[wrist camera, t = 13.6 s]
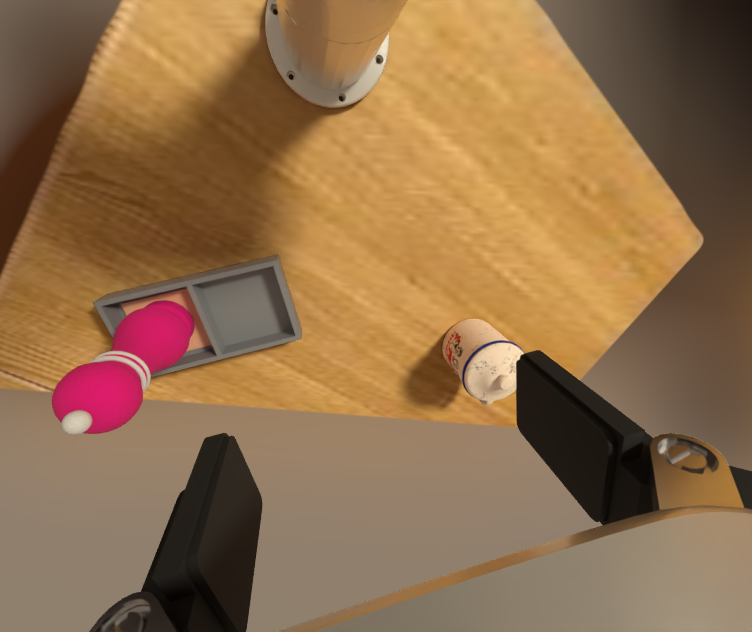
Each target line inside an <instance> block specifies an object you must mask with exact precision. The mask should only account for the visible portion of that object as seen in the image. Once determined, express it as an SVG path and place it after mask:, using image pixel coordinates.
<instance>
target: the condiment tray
mask: <svg viewBox="0 0 752 632" xmlns="http://www.w3.org/2000/svg"><path fill="white" fill-rule="evenodd" d="M160 300H168V301H173V302H176V303H178V304H180V305H182V306H183V307H185V308H186V309H187V310H188V311H189V312H190V314H191V315H192V317H193V320H194V325H195V328H194V332H193V335H192V336H191V338H190V342H189V346H188V349H187V351H186V353H185V354H184V355H183V356H182V357H181V359H180V360H179V361H177V362H176V363H175V364H173V365H172V366H170V367H168V368H166V369H163V370H160V371H156V372H154V373H152V374H151V377H154V376H158V375H162V374H166V373H170V372H174V371H178V370H182V369H185V368H189V367H193V366H197V365H201V364H205V363H209V362H213V361H217V360H221V359H225V358H229V357H233V356H236V355H240V354H244V353H248V352H252V351H256V350H260V349H264V348H268V347H272V346H276V345H280V344H283V343H287V342H291V341H295V340H299V339H301V338H302V329H301V325H300V322H299V319H298V316H297V312H296V309H295V306H294V303H293V300H292V296H291V293H290V290H289V287H288V284H287V280H286V277H285V274H284V271H283V268H282V264H281V261H280V258H279V255H274V256H270V257H266V258H261V259H257V260H253V261H248V262H244V263H240V264H235V265H231V266H227V267H222V268H218V269H214V270H209V271H205V272H201V273H196V274H192V275H187V276H183V277H179V278H174V279H170V280H166V281H161V282H157V283H153V284H148V285H144V286H140V287H135V288H131V289H127V290H122V291H118V292H114V293H109V294H106V295H105V296H103V297H101V298H100V299H98V300H96V301H95V302H93V304H94V306H95V308H96V309H97V311H98V313H99V315H100V316H101V318H102V320H103V322H104V323H105V325H106V327H107V329H108V330H109V332H110V334H111V336H112V338H113V337H114V334H115V331H116V329H117V326H118V325H119V324H120V322H121V321H122V320H123V319H124V318H125V317H126V316H127V315H128V314H130V313H131V312H133V311H135V310H138V309H141V308H144V307H145V306H147V305H148V304H150V303H152V302H155V301H160Z"/></svg>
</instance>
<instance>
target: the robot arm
mask: <svg viewBox="0 0 752 632" xmlns="http://www.w3.org/2000/svg"><path fill="white" fill-rule="evenodd" d="M406 2H407V0H268V2H267V8H266V15H265V32H266V37H267V43H268V48H269V51H270V54H271V57H272V59H273V62H274V64H275V66H276V69H277V70H278V72H279V74H280V75H281V77H282V78H283V80H284V81H285V82H286V84H287V85H288V86H289V87H290V88H291V89H292V90H293V91H294V92H295V93H296V94H298V95H299V96H300V97H301V98H303V99H305V100H307V101H308V102H310V103H312V104H315V105H318V106H321V107H327V108H339V107H346V106H348V105H351V104H354V103H356V102H357V101H359V100H360V99H362V98H364V97H365V96H366V95H367V94H368V93H369V92H370V91H371V90H372V89H373V87H374V86H375V85H376V83H377V82H378V80H379V78H380V76H381V74H382V73H383V70H384V67H385V65H386V62H387V57H388V51H389V31H390V30H391V28H392V26H393V25H394V23H395V21H396V19H397V18H398V16H399V14H400V13H401V11H402V9H403V8H404V6H405V4H406ZM274 10H276V11H278V14H277V15H274V14H273V11H274ZM377 59H379V60H380V64H377V63H376V60H377ZM289 75H293V77H294V79H293V80H290V79H289ZM340 96H341V97H343V101H340V100H339V97H340ZM516 402H517V426H518V428H519V430H520V432H521V433H522V435H523V436H524V437H525V438H526V440H527V441H528V442H529V443H530V444H531V446H532V447H533V448H534V449H535V451H536V452H537V453H538V454H539V455H540V457H541V458H542V459H543V460H544V461H545V463H546V464H547V465H548V466H549V467H550V469H551V470H552V471H553V472H554V474H555V475H556V476H557V477H558V478H559V480H560V481H561V482H562V483H563V485H564V486H565V487H566V488H567V489H568V491H569V492H570V493H571V494H572V495H573V497H574V498H575V499H576V500H577V501H578V503H579V504H580V505H581V506H582V508H583V509H584V510H585V511H586V512H587V514H588V515H589V516H590V517H591V518H592V519H593V520H594V521H596V522H599V521H600V522H601V524H602V525H603V526H600V527H596V528H593V529H590V530H586V531H583V532H580V533H577V534H573V535H571V536H567V537H564V538H561V539H558V540H554V541H551V542H549V543H545V544H542V545H539V546H536V547H532V548H529V549H526V550H523V551H520V552H517V553H514V554H511V555H507V556H504V557H501V558H498V559H495V560H492V561H489V562H486V563H483V564H479V565H476V566H473V567H470V568H467V569H464V570H461V571H458V572H455V573H451V574H449V575H445V576H442V577H439V578H436V579H433V580H430V581H427V582H424V583H421V584H418V585H415V586H411V587H409V588H405V589H402V590H399V591H396V592H393V593H390V594H387V595H384V596H381V597H378V598H375V599H372V600H369V601H366V602H363V603H360V604H357V605H354V606H351V607H348V608H345V609H342V610H339V611H336V612H333V613H330V614H327V615H324V616H320V617H318V618H315V619H311V620H308V621H306V622H302V623H299V624H297V625H294V626H291V627H288V628H285V629H282V630H279V631H277V632H752V471H748V470H744V469H740V468H736V467H732V466H728V463H727V461H726V460H725V458H724V456H723V455H722V454H721V453H720V452H718V451H717V450H716V449H715V448H714V447H712V446H710V445H709V444H707V443H706V442H703V441H701V440H699V439H696V438H694V437H690V436H687V435H683V434H675V433H666V434H660V435H658V436H655V437H654V438H652V437H651V436H650V435H648V434H647V433H646V432H645V430H644V429H642V428H641V427H640V426H638V425H637V424H636V423H635V422H633V421H632V420H630V419H629V418H628V417H626V416H625V415H624V414H623V413H621V412H620V411H619V410H618V409H616V408H615V407H614V406H612V405H611V404H610V403H608V402H607V401H606V400H604V399H603V398H602V397H600V396H599V395H598V394H596V393H595V392H594V391H593V390H591V389H590V388H589V387H587V386H586V385H585V384H583V383H582V382H581V381H580V380H578V379H577V378H576V377H574V376H573V375H572V374H570V373H569V372H568V371H566V370H565V369H564V368H562V367H561V366H560V365H559V364H557V363H556V362H555V361H553V360H552V359H551V358H549V357H548V356H547V355H545V354H544V353H543V352H541V351H540V350H536V351H533V352H529V353H525V354H522V355H521V356H520V360H517V362H516ZM261 513H262V498H261V495H260V492H259V490H258V488H257V486H256V484H255V481H254V479H253V477H252V475H251V472H250V470H249V468H248V466H247V463H246V461H245V459H244V457H243V455H242V452H241V450H240V448H239V446H238V444H237V441H236V439H235V437H234V436H228V435H227V434H226V433H222V434H218V435H214V436H210V437H207V438H205V439H204V441H203V444H202V446H201V449H200V452H199V454H198V457H197V459H196V462H195V465H194V467H193V470H192V473H191V475H190V478H189V481H188V483H187V486H186V489H185V490H183V491H182V492H181V493H180V495H179V497H178V498H177V501H176V504H175V506H174V508H173V511H172V514H171V516H170V519H169V521H168V524H167V527H166V529H165V531H164V534H163V537H162V539H161V542H160V544H159V547H158V549H157V552H156V554H155V557H154V560H153V562H152V565H151V568H150V570H149V573H148V575H147V578H146V580H145V583H144V585H143V588H142V590H141V592H136V593H133V594H131V595H128V596H127V597H124V598H122V599H121V600H120V601H118V602H117V603H115V604H114V605H113V606H112V607H110V608H109V609H108V610H107V611H106V612H105V613H104V614H103V615H102V616H101V617H100V618H99V619H98V621H97V622H96V623H95V625H94V626H93V627H92V629H91V630H90V631H89V632H246V629H247V622H248V614H249V607H250V599H251V590H252V583H253V576H254V568H255V559H256V552H257V544H258V537H259V529H260V521H261Z"/></svg>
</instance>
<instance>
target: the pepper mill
mask: <svg viewBox="0 0 752 632" xmlns="http://www.w3.org/2000/svg"><path fill="white" fill-rule="evenodd" d="M194 328H195V325H194V320H193V317H192V315H191V314H190V312H189V311H188V310H187V309H186V308H185V307H183V306H182V305H180V304H178V303H176V302H173V301H168V300H160V301H155V302H152V303H150V304H148V305H147V306H145V307H144V308H141V309H138V310H135V311H133V312H131V313H130V314H128V315H127V316H126V317H125V318H124V319H123V320H122V321H121V322H120V324H119V325H118V326H117V329H116V331H115V334H114V337H113V348H112V350H111V351H109V352H105V353H102V354H100V355H99V356H97V357H96V358H95V359H94V360H93V361H91V362H90V363H88V364H84V365H81V366H78V367H77V368H75V369H73V370H72V371H70V372H69V373H68V374H67V375H65V376H64V377H63V378H62V379H61V381H60V382H59V383H58V384H57V386H56V388H55V390H54V393H53V396H52V406H53V410H54V413H55V415H56V417H57V418H58V419H59V420H60V422H61V427H62V429H63V431H64V432H66V433H68V434H70V435H77V434H80V433H88V434H98V433H104V432H109V431H112V430H114V429H117V428H119V427H121V426H122V425H124V424H125V423H127V422H128V421H129V420H130V419H131V418H132V417H133V416H134V415H135V414H136V412H137V411H138V410H139V408H140V405H141V403H142V400H143V393H144V391H145V390H146V389H147V387H148V386H149V384H150V379H151V374H152V373H154V372H156V371H160V370H163V369H166V368H168V367H170V366H172V365H173V364H175V363H176V362H177V361H179V360H180V359H181V357H182V356H183V355H184V354H185V353H186V351H187V349H188V346H189V342H190V338H191V336H192V335H193V332H194Z"/></svg>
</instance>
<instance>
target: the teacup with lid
mask: <svg viewBox="0 0 752 632" xmlns="http://www.w3.org/2000/svg"><path fill="white" fill-rule="evenodd" d="M442 352H443V356H444V358H445V360H446V361H447V363H448V364H449V365H450V367H451V368H452V369H453V371H454V372H455V373H456V375H457V376H458V377H459V379H460V380H461V381H462V383H463V385H464V388H465V389H466V391H467V392H468V393H469V394H470V395H471V396H473V397H475V398H477V399H479V401H480V402H481V403H482V404H483V405H490V404H491V403H492V402H493V401H495V400H499V399H502V398H504V397H506V396H508V395H510V394H511V393H512V392H514V391H515V390H516V362H517V360H520V356H521V355H522V354H524V353H523V351H522V349H521V348H520V347H519V346H518V345H516V344H514V343H512V342H510V341H509V340H507V339H506V338H505V337H504V336H502V335H501V334H500V333H499V332H498V331H496V330H495V329H494V328H493V327H491V326H490V325H489V324H488V323H486V322H485V321H483V320H480V319H467V320H463V321H461V322H459V323H457V324H456V325H454V326H453V327H452V328H451V329H450V330H449V331H448V333H447V334H446V336H445V338H444V341H443V345H442Z"/></svg>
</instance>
